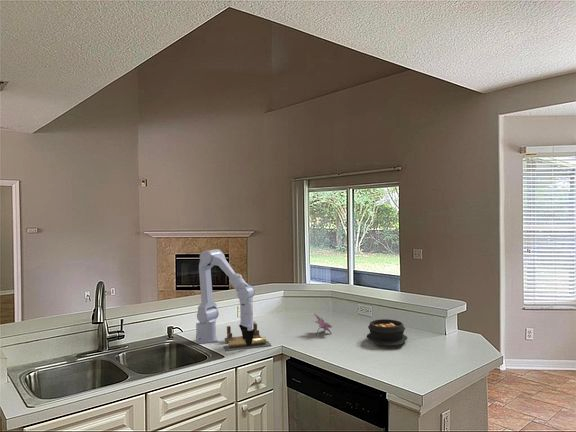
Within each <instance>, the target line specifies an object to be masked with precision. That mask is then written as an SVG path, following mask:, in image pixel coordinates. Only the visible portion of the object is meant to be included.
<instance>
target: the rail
mask: <svg viewBox="0 0 576 432" xmlns="http://www.w3.org/2000/svg"><path fill="white" fill-rule="evenodd" d="M266 341H267V337H266V336H264V337H262V336H261V338H253V339H252V344H251V345H259V344H266ZM227 345H229V348H232V347H241V346H250V345H247V344H246V340H245V339H242V340H233V341H229V342H228V344H227Z"/></svg>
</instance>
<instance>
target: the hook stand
mask: <svg viewBox="0 0 576 432" xmlns="http://www.w3.org/2000/svg"><path fill="white" fill-rule="evenodd" d="M231 329H232V328H231V325H227V326H226V337H224V341H225V343H226V345H228V342H229V341H233V340H242V339H243V336H242V335H240V336H239V335H238V336H233V332H232V331H231ZM252 329H255V333H254V335H253V338H261V337H262V336H261V335H260V330H259V329H258V323H255V324H253V326H252Z"/></svg>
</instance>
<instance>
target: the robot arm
mask: <svg viewBox="0 0 576 432" xmlns="http://www.w3.org/2000/svg"><path fill="white" fill-rule="evenodd" d="M214 266H216V267H217V266H218V267H219V268H220V270H221V271H223V272H224V273H225V275H226V276H227V277H228V279H229V280H228V282H229V283H230V284H231V286H232V287H233V288H234V290H235V291H236V292H237V293H236V294H237V295H236V296H237V297H238V300H239V305H240V306H239V307H240V308H239V310H240V314H239V315H240V323H239V325H238V327H239V328H240V332H241V336H243V339H245V340H246V344H247V345H251V344H252V339H253V335H254V333H255V329H253V324H257V323H256V321H255V320H254V307H253V305H254V304H253V297H254V296H255V293H256V292H255V291H256V290H255V288H254V286H253V285H250V284H248V283H247V282H246V281H245V279H244V278H243V276H242V274H240V273H237V272H235V270H234V269H233V268H232V266H231V265H230V264H229V262H228V261H227V259H226V256H225V254H224V253H223V252H222V250H221V249H219V248H216V249H211V250H210V249H209V250H207V249H206V250H203V251H202V252H201V253H200V254H199V264H198V273H199V275H198V276H199V287H200V299H201V301H200V302H201V303H200V304H199V305H198V306H197V312H196V319H197V320H198V322H196V323H195V324H196V325H195V328H196V329H195V332H196V333H195V340H196V343H197V344H205V343H214V342H215V343H216V342H218V341H219V340H218V337H217V327H216V324H217V323H216V321H217V319H218V317H219V315H220V314H219V310H218V306H217V303H216V302H215V301H214V296H213V283H212V273H211V272H212V271H211V269H212V268H213V267H214Z"/></svg>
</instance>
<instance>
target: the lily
mask: <svg viewBox="0 0 576 432" xmlns="http://www.w3.org/2000/svg"><path fill="white" fill-rule="evenodd" d="M313 314H314V316H315V318H316V319H317V320H315V321H314V323H316V324H318V327H319V328H318V329H317V332H316V334H315V335H316V336H317V335H318V332H319V331H320V329H323V331H324V332H325V331H327V332H329V333H330V334H332V331H331V330H330V329H331V328H333V325H331V324H330V323H329V322H326V321H325V320H324V318H323V317H320V316H319V315H317V314H316V313H313Z"/></svg>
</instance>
